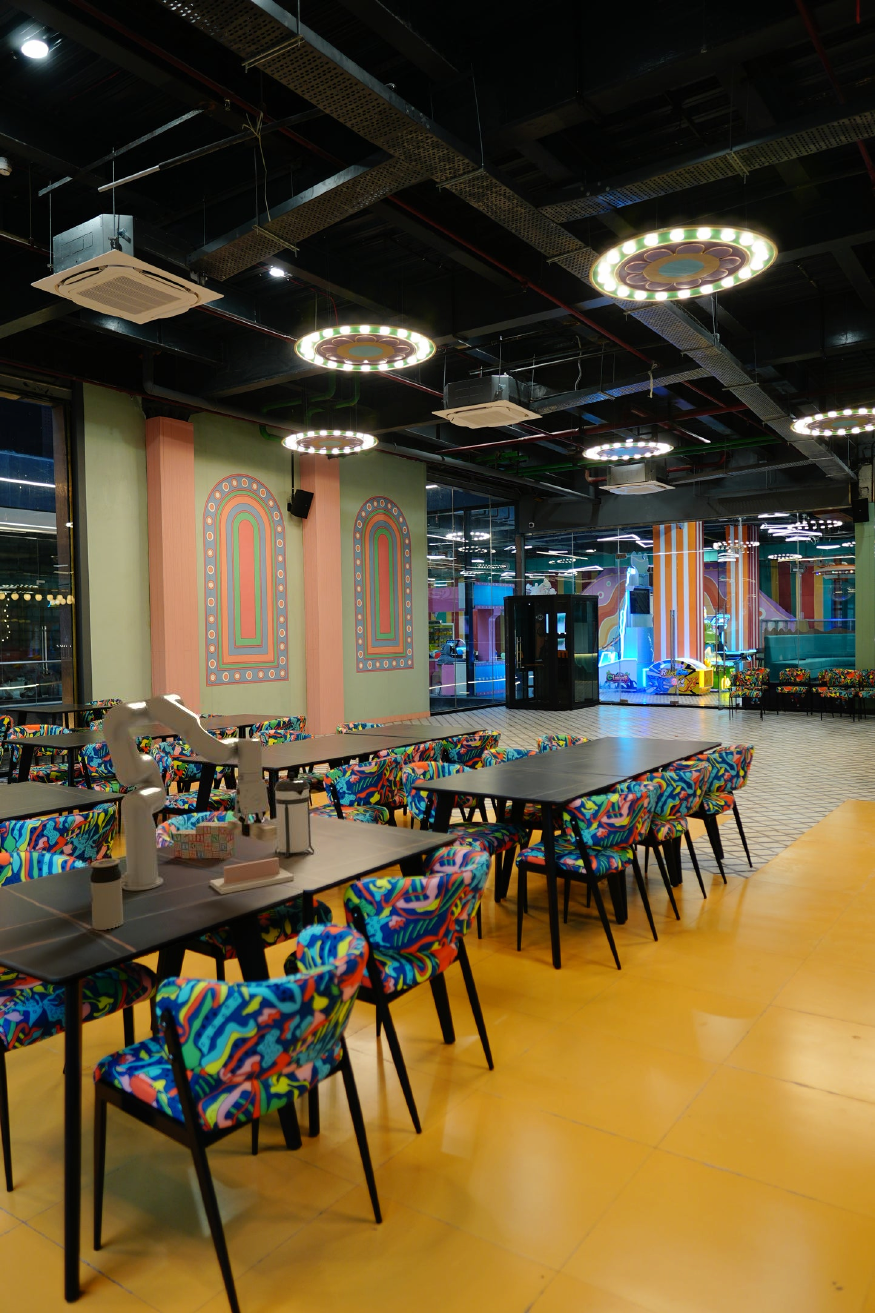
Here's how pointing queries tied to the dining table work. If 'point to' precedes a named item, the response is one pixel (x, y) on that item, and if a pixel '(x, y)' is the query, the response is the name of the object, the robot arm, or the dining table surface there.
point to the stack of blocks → (204, 841)
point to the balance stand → (251, 876)
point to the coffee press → (293, 815)
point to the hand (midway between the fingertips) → (252, 833)
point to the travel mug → (106, 894)
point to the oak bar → (254, 830)
